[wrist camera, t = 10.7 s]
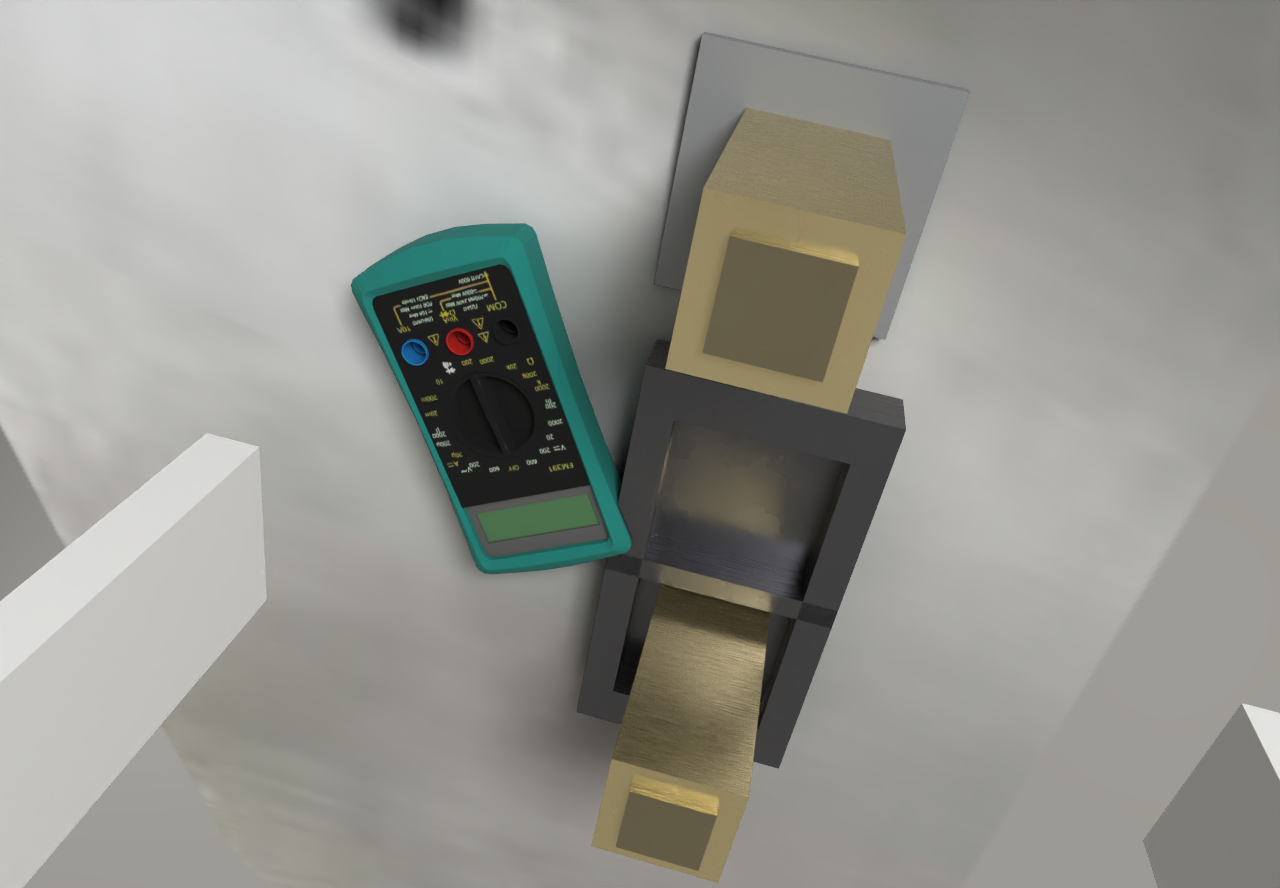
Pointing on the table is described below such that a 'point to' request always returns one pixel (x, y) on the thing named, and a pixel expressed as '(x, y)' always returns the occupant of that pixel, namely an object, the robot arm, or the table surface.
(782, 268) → the tan rectangular block
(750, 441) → the dark grey block holder
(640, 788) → the gold rectangular block
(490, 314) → the digital multimeter
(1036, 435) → the table surface
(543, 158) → the table surface
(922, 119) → the mat
